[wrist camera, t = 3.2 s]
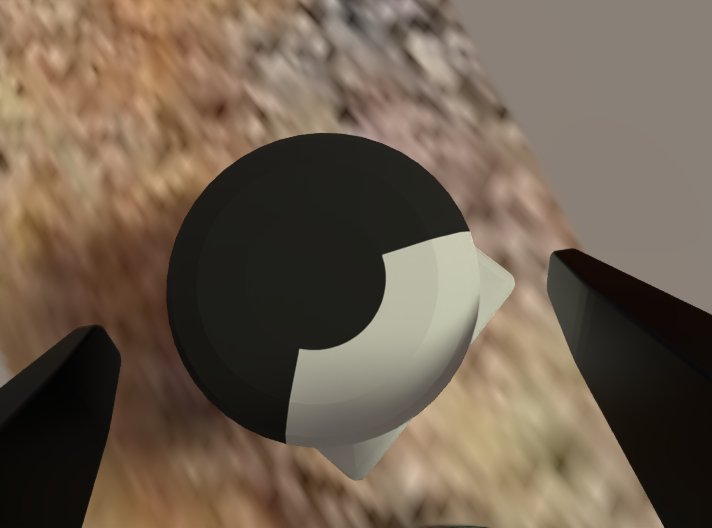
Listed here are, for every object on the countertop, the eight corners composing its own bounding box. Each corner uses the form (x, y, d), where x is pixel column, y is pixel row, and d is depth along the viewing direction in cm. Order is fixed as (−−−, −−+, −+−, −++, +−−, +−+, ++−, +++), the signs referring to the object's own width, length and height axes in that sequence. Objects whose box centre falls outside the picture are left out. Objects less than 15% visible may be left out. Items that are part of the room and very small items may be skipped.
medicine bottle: (239, 322, 20) (36, 306, 9) (344, 196, 21) (292, 16, 9) (367, 433, 19) (341, 590, 8) (474, 298, 20) (607, 246, 8)
